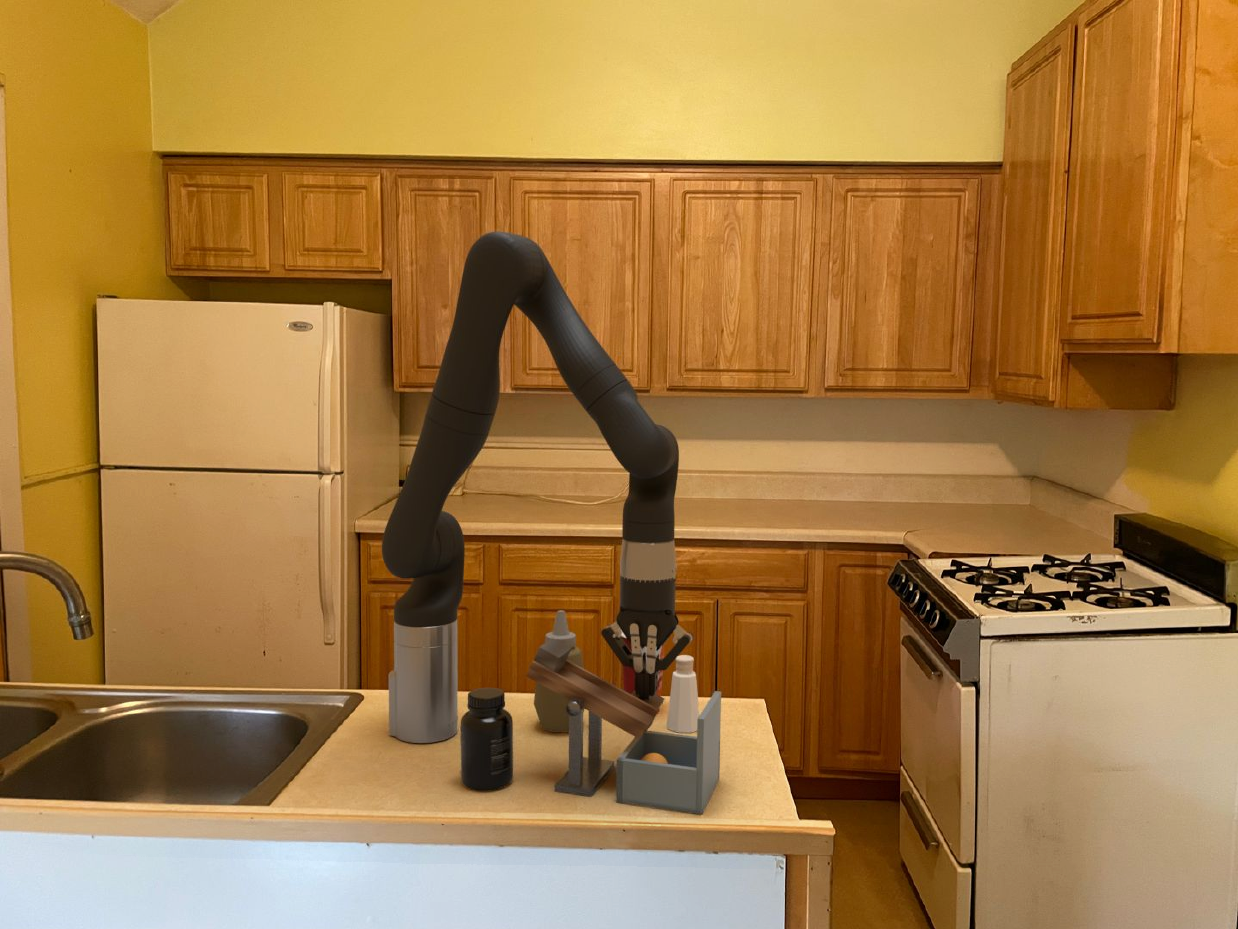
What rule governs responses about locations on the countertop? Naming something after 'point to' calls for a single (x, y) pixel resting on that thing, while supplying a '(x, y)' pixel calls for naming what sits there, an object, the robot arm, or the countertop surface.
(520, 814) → the countertop surface
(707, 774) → the cup
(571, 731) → the pivot stand
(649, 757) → the ball
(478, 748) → the supplement bottle
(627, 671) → the paper cup
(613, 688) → the lever
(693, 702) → the salt shaker
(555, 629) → the squeeze bottle
